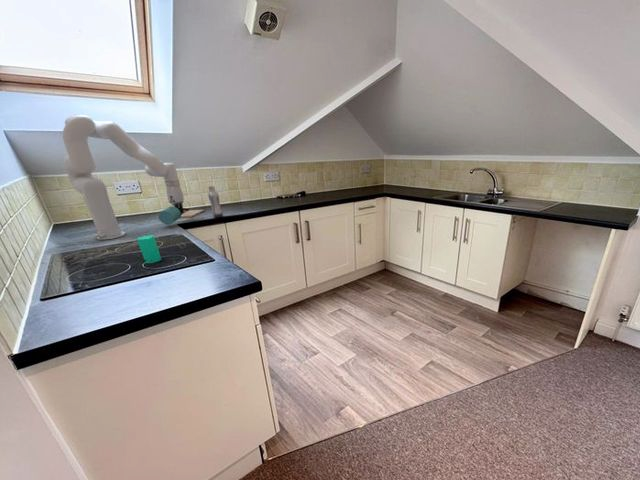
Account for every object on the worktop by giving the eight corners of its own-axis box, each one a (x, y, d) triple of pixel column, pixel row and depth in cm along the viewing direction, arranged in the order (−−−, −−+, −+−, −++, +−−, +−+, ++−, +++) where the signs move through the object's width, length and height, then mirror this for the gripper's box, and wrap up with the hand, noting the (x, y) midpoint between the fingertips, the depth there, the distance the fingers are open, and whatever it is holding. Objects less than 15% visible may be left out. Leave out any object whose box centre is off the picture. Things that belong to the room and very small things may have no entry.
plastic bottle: (216, 218, 197) (209, 187, 189) (211, 217, 201) (203, 187, 193) (225, 216, 202) (218, 186, 194) (220, 215, 206) (213, 185, 198)
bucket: (174, 213, 193) (172, 201, 189) (189, 215, 194) (188, 203, 190) (158, 223, 178) (156, 209, 174) (175, 225, 179) (173, 212, 175)
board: (191, 217, 203) (190, 215, 202) (164, 218, 202) (164, 216, 202) (204, 211, 221) (204, 209, 221) (180, 212, 220) (179, 210, 220)
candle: (163, 257, 131) (154, 230, 126) (159, 261, 126) (150, 234, 121) (147, 259, 130) (137, 232, 125) (143, 264, 124) (133, 236, 119)
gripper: (173, 182, 192) (181, 211, 199) (159, 185, 178) (167, 216, 185) (185, 182, 192) (192, 210, 200) (171, 185, 178) (180, 215, 185)
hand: (180, 213), depth 192 cm, fingers closed on bucket, 1 cm apart
